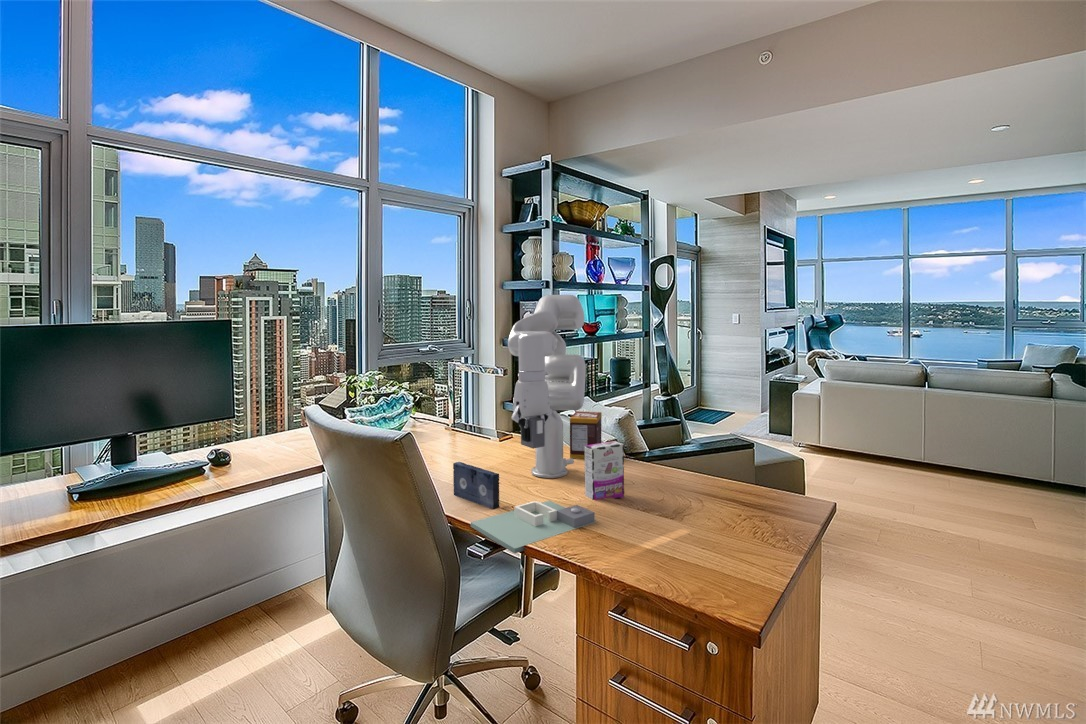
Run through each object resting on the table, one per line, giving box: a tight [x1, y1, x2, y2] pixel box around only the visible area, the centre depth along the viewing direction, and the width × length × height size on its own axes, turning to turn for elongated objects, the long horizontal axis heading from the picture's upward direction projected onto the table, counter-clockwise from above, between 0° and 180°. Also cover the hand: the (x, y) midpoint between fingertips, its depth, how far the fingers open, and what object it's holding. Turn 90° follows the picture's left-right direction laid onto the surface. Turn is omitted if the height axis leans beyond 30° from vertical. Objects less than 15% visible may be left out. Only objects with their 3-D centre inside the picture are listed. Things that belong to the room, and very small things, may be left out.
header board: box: [470, 500, 598, 554], centre depth 140 cm, size 26×20×4 cm
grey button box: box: [557, 504, 596, 528], centre depth 140 cm, size 7×7×3 cm
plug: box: [520, 416, 545, 450], centre depth 155 cm, size 4×7×8 cm, turn 38°
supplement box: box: [569, 410, 603, 460], centre depth 210 cm, size 10×15×16 cm
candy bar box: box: [584, 440, 625, 501], centre depth 160 cm, size 11×5×16 cm, turn 117°
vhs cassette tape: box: [452, 461, 500, 510], centre depth 159 cm, size 18×3×10 cm, turn 45°
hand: (532, 439), depth 155 cm, fingers closed on plug, 4 cm apart
